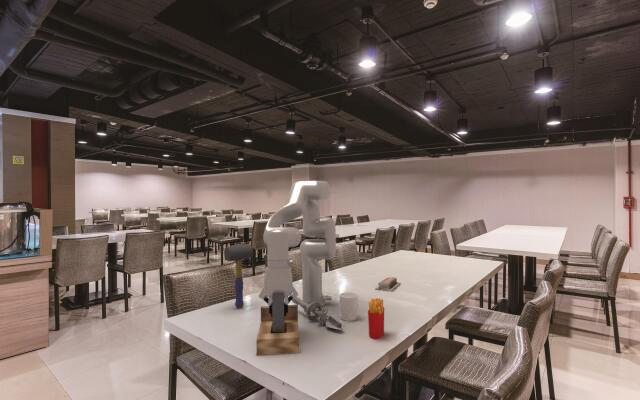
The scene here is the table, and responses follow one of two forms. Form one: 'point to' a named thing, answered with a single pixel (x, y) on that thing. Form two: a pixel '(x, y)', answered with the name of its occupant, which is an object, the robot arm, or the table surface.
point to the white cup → (348, 306)
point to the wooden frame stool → (278, 341)
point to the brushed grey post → (278, 313)
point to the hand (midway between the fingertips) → (278, 314)
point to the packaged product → (388, 284)
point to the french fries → (376, 318)
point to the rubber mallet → (238, 267)
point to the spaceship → (319, 314)
